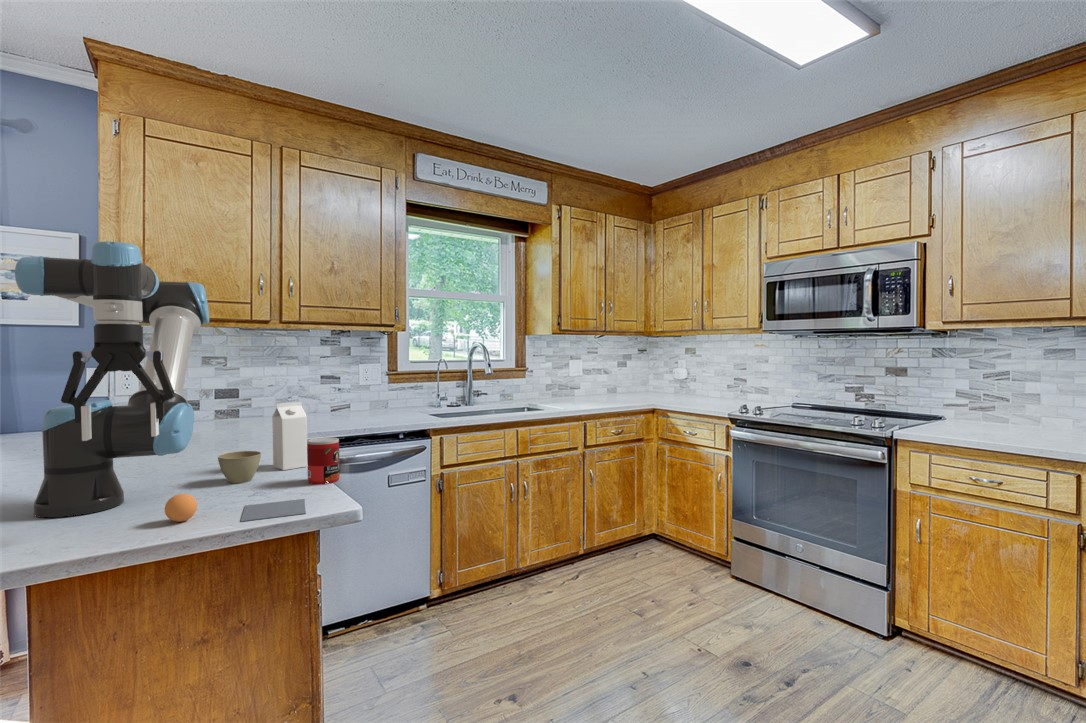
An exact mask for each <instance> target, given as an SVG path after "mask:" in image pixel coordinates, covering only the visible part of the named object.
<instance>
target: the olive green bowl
mask: <svg viewBox="0 0 1086 723" xmlns="http://www.w3.org/2000/svg"><path fill="white" fill-rule="evenodd" d="M261 456H262V452H261V451H256V450H240V451H232V452H226V453H221V454H219V455H218V456H217V461H218V464H219V467H220V470H221V472H222V474H223V476H224V477H225V479H226V480H227V482H228V483H230V484H243V483H248V482H250V481H252V479H253V478H254V476H255V475H256V473H257V470H258V468H259V466H260V461H261Z"/></svg>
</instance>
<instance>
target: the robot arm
mask: <svg viewBox="0 0 1086 723" xmlns="http://www.w3.org/2000/svg"><path fill="white" fill-rule="evenodd" d="M142 262H143V258H142V252H141V249H140V248H139V246H138V245H136V244H133V243H128V242H121V241H105V240H104V241H97V242H95V243H93V244H92V246H91V259H89V258H88V259H80V258H79V259H78V258H66V257H65V258H64V257H63V258H61V257H44V256H41V255H40V256H24V257H22V258H19V260H18V261H17V262H16V264H15V266H14V279H15V282H16V285H17V287H18V289H19V290H20V291H21V292H22V293H24V294H25V295H33V296H40V297H43V296H55V297H58V298H61V299H64V300H67V301H71V302H74V303H77V304H81V305H83V306H86V307H89V308H92V309H93V310H92V311H93V320H94V321H95V322H97V323H96V324H95V325H93V345H94V346H93V348H92V350H91V351H82V350H81V351H80V350H78V351H77V350H76V351H73V353H72V360H73V361H72V363H73V364H72V367H71V369H70V372H69V375H68V378H67V381H66V383H65V387H64V390H63V392H62V396H61V399H60V401H61V403H63V404H68V405H63V406H62V405H61V406H57V407H53V408H49V409H48V410H45V413H43V417H42V429H41V433H42V451H43V455H42V456H43V473H44V474H43V480H42V483H41V485H40V488H39V490H38V492H37V496H36V498H35V501H34V504H33V515H34V514H35V515H36V516H35V515H34V516H35V517H37V516H40V517H39V518H44V517H55V518H64V517H63V516H68V517H75V515H76V516H81V514H83V515H88V514H92V513H93V512H94V513H98V512H101V511H105V510H109V509H112V508H115V507H118V506H119V505H122V504H123V503H124V502H125V493H124V492H125V491H124V490H123V488H122V485H121V482H120V481H119V479H118V476H117V474H116V472H115V470H114V459H120V458H133V457H135V458H137V457H147V456H148V457H151V456H158V457H159V456H161V457H162V456H166V455H171V454H172V455H173V454H174V455H175V454H179V453H181V452H182V451H184V450H185V449H187V447H188V445H189V443H190V441H191V439H192V435H193V431H194V423H195V411H194V407H193V406H192V405H191V404H190V403H188V400H187V398H186V397H185V396H184V395H183V392H184V387H185V386H184V385H185V380H186V373H187V368H188V362H189V356H190V350H191V347H192V346H191V345H192V339H193V335H195V334H197V333H198V332H199V331H200V329H201V326H202V325H203V326H204V325H207V324H209V323H210V312H209V310H210V309H209V304H208V298H207V293H206V289H205V287H204V285H203V284H201V283H200V282H193V281H192V282H189V281H184V282H183V281H163V280H161V281H160V280H159V277H158V275H157V273H156V272H155V271H154V270H153V269H152V267H150V266H149V265H147V264H145V263H142ZM141 324H146V325H147V324H150V326H151V327H152V329H153V331H152V335H151V340H150V343H149V344H150V345H149V348H148V350H146V349H145V346H144V329H143V328H144V327H143V326H142V325H141ZM91 358H93V359H94V360H95V361H96V362H97V364H98V365H97V367H96V368H95V369H94V371H93V373H92V375H91V376H90V378H89V379H88V381H87V382H86V383H85V385H84V386H83V387H82V389H81V391H80V392H79V393H78V395H77V396H76V394H77V391H78V388H79V385H80V383H81V379H82V376H83V374H84V372H85V368H86V364H87V363H88V362H89V361H90V360H91ZM145 358H146V362H145V365H144V367H143V366H142V365H141V362H143V360H145ZM118 371H119V372H132V373H133V374H134V375H135V376H136V378H137V379H138V381H139V382H140V387H139V390H138V391H136V392H134V393H132V395H131V396H130V397H129V399H128V403H127V405H119V406H118V405H115V406H113V402H112V400H110V399H105V400H104V399H103V400H95V401H88V400H89V399H90V397H91V395H92V394H94V392H95V390H96V389H97V387H98V386H99V384H100V383H101V382H102V380H103V378H104V377H105V376H106V375H107V374H108V372H109V373H110V372H118ZM73 515H74V516H73Z"/></svg>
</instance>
